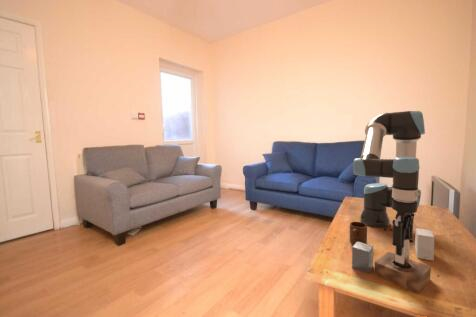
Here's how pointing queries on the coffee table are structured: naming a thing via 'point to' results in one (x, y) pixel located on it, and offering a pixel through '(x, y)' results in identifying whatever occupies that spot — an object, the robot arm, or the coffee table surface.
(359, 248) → the square block
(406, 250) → the round peg
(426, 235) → the small box
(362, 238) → the mug
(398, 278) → the socket block
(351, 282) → the coffee table surface
